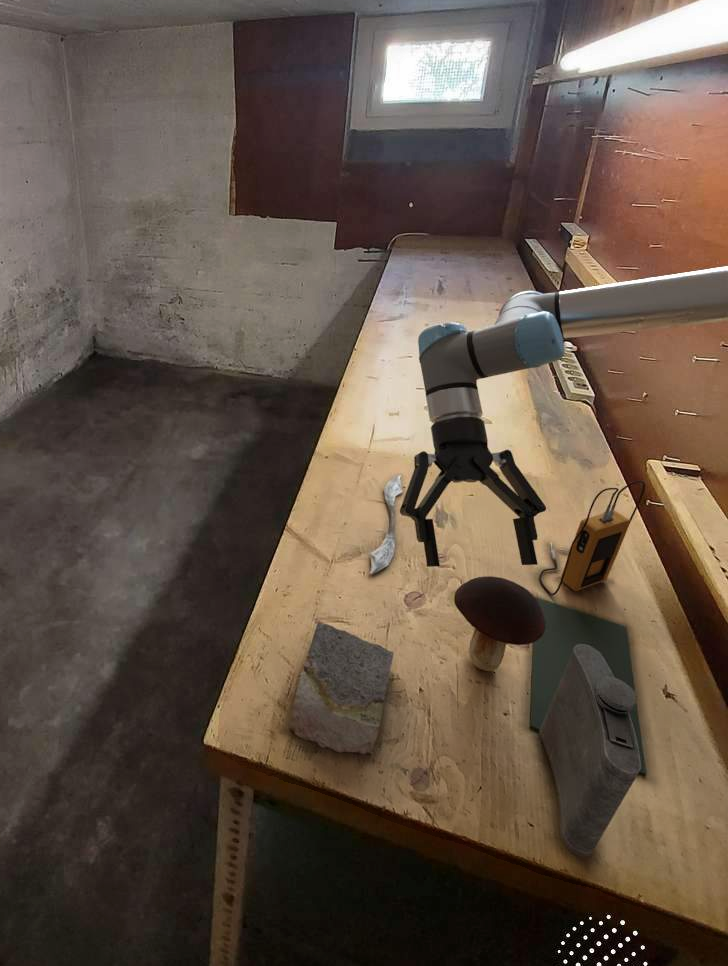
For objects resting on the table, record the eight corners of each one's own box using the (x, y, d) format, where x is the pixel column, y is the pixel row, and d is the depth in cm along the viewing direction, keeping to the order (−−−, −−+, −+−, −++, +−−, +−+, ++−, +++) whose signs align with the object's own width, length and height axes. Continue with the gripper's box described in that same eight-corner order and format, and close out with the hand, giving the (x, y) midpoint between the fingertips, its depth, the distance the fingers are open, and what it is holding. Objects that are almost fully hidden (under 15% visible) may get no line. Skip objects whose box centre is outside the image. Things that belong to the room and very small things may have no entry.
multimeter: (569, 537, 102) (602, 445, 94) (623, 576, 94) (664, 478, 85) (505, 557, 98) (533, 463, 90) (555, 599, 90) (591, 499, 81)
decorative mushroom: (430, 631, 85) (447, 557, 79) (504, 632, 85) (527, 557, 78) (459, 700, 75) (482, 621, 69) (543, 701, 75) (573, 621, 68)
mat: (625, 627, 85) (626, 626, 85) (645, 775, 66) (646, 774, 66) (534, 598, 90) (535, 596, 90) (529, 727, 72) (530, 725, 72)
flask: (570, 732, 71) (614, 635, 62) (604, 864, 59) (664, 766, 51) (537, 723, 72) (576, 627, 64) (564, 851, 60) (617, 754, 52)
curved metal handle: (366, 575, 96) (397, 582, 94) (367, 572, 95) (397, 579, 94) (380, 471, 122) (403, 475, 121) (380, 469, 122) (404, 473, 120)
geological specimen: (395, 643, 78) (379, 739, 65) (388, 674, 80) (371, 772, 68) (319, 616, 82) (290, 701, 69) (314, 646, 84) (286, 733, 72)
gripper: (524, 425, 90) (554, 564, 83) (368, 429, 90) (385, 567, 83) (552, 413, 83) (587, 563, 76) (382, 416, 83) (402, 566, 76)
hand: (481, 566), depth 80 cm, fingers open, 13 cm apart
